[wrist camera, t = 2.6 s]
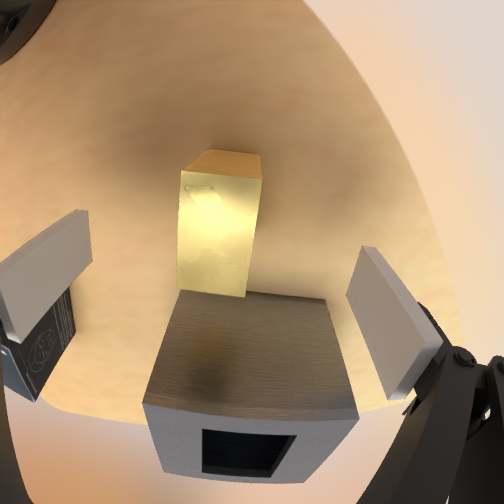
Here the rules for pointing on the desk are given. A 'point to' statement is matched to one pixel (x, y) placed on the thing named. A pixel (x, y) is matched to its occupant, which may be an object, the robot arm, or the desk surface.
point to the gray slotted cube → (248, 388)
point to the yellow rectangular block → (218, 221)
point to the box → (37, 350)
